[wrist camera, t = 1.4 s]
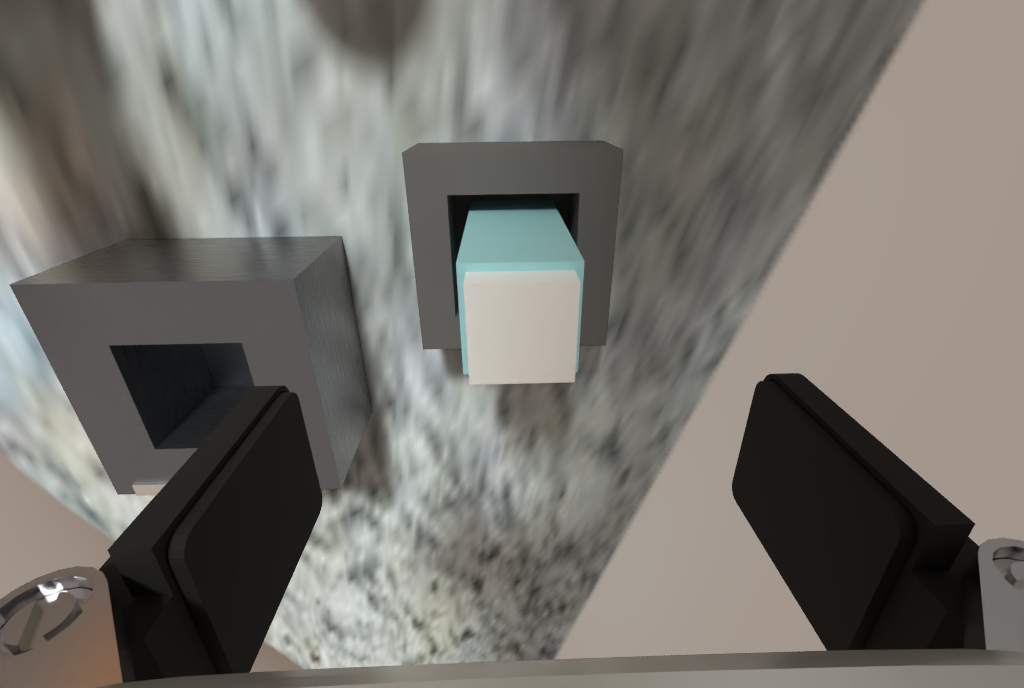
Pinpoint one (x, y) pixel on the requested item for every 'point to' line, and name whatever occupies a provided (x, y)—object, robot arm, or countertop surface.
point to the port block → (201, 346)
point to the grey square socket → (500, 176)
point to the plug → (519, 294)
